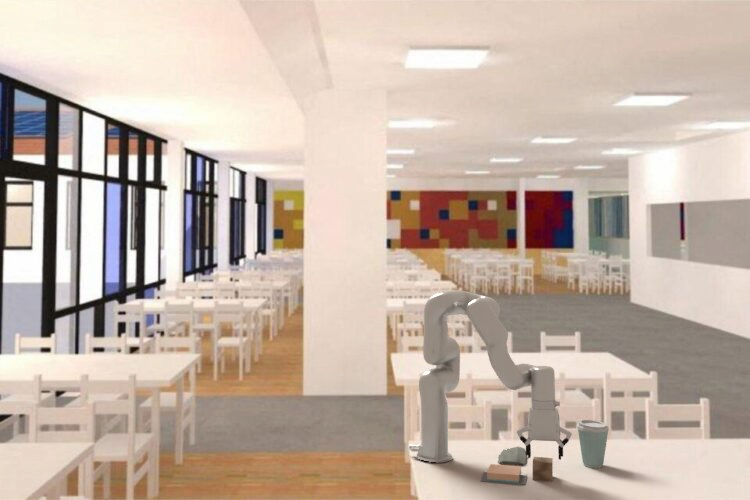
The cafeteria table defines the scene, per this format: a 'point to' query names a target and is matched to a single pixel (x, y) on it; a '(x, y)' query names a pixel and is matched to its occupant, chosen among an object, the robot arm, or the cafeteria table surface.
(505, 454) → the stone slab
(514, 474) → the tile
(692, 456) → the cafeteria table surface
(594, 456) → the disposable coffee cup
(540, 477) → the walnut block
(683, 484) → the cafeteria table surface
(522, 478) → the mat
